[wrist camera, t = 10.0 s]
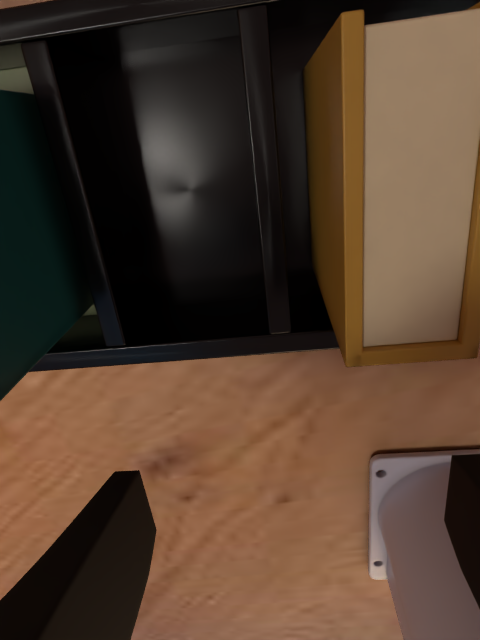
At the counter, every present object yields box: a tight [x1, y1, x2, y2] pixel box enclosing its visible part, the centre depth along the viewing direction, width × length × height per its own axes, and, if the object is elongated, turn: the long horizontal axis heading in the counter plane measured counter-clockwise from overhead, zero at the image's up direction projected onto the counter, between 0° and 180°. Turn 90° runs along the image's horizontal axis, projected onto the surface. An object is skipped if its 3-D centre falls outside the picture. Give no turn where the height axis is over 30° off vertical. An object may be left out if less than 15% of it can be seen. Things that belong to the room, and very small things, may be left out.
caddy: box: [0, 0, 480, 372], centre depth 15 cm, size 11×19×4 cm, turn 97°
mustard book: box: [303, 2, 480, 367], centre depth 12 cm, size 7×3×8 cm, turn 7°
